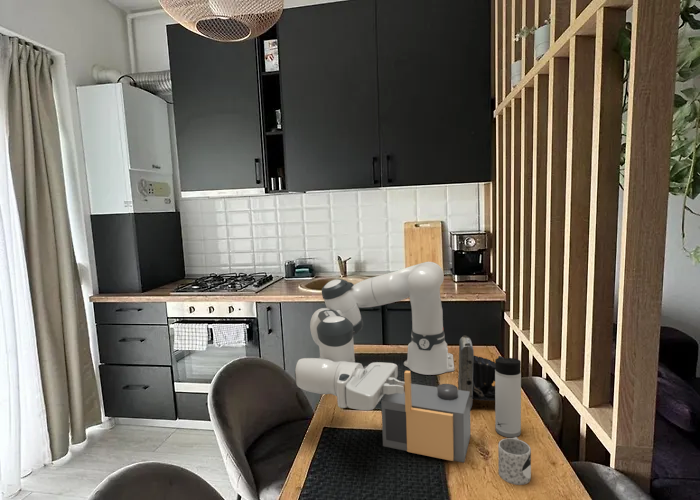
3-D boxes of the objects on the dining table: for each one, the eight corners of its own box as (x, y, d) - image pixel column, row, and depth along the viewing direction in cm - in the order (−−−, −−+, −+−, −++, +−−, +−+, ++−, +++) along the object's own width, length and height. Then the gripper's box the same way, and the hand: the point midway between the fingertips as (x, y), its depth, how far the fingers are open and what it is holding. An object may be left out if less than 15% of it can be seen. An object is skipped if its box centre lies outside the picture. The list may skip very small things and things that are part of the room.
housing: (396, 422, 114) (395, 374, 113) (470, 435, 106) (469, 384, 105) (382, 446, 103) (380, 393, 102) (464, 463, 95) (463, 405, 94)
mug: (530, 488, 86) (530, 458, 85) (497, 480, 89) (496, 451, 88) (531, 460, 95) (531, 433, 94) (501, 454, 98) (501, 428, 97)
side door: (408, 449, 100) (405, 370, 98) (453, 458, 96) (452, 375, 94) (406, 452, 99) (404, 372, 97) (452, 462, 94) (451, 378, 92)
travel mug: (498, 438, 105) (498, 363, 103) (493, 424, 111) (492, 353, 109) (524, 439, 104) (524, 363, 102) (517, 425, 110) (517, 354, 108)
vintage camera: (515, 415, 116) (517, 347, 115) (459, 410, 120) (460, 344, 118) (508, 399, 126) (511, 337, 124) (457, 395, 129) (458, 334, 127)
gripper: (367, 376, 113) (416, 382, 107) (335, 410, 94) (392, 421, 89) (366, 354, 112) (415, 359, 107) (334, 384, 94) (392, 393, 88)
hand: (405, 387), depth 98 cm, fingers closed
